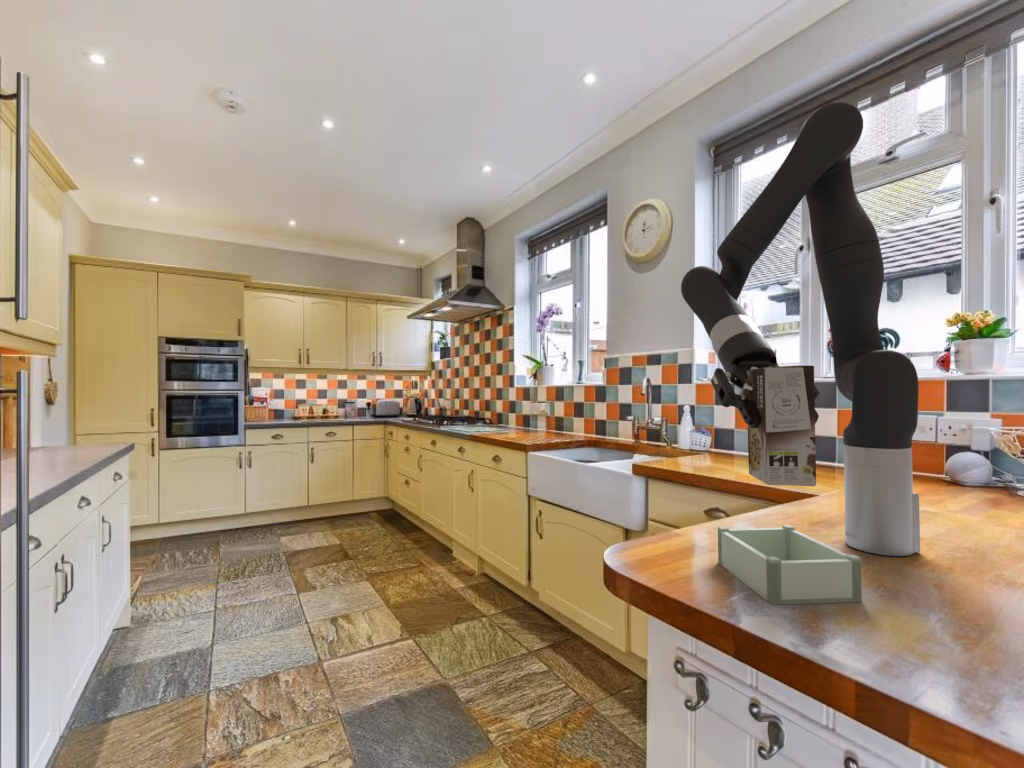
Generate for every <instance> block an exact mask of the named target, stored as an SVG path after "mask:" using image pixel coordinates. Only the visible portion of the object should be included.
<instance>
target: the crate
mask: <svg viewBox="0 0 1024 768" xmlns="http://www.w3.org/2000/svg"><path fill="white" fill-rule="evenodd" d="M795 529H796V528H795V526H793V525H791V524H785V525H784V524H783V525H782V526H781V527H768V528H767V527H766V528H765V527H763V528H762V527H761V528H728V527H726V526H717V559H718V560H717V562H718V564H719V565H721V566H722V567H723V568H724V569H726V570H727V571H729V573H731V574H732V575H734V576H735V577H736V578H737V579H739V580H740V581H741V582H743V583H744V584H745V585H746V586H747V587H749V588H750V589H751V590H753V591H754V592H756V593H757V594H758V595H759V596H761V597H762V598H763V599H764V600H766V601H767V602H768V603H769V604H771V605H773V606H774V605H775V606H776V605H801V604H802V605H804V604H806V605H808V604H810V605H811V604H835V603H836V604H837V603H839V604H840V603H862V600H863V598H862V597H863V595H862V594H863V593H862V557H860V556H858V555H856V554H847V553H845V552H843V551H841V550H838V549H836V548H835V547H833V546H830V545H827V544H826V543H825V542H824V543H823V542H822V541H820V540H817V539H815V538H813V537H811V536H809V535H807V534H804V533H803V532H800V531H798V530H795Z"/></svg>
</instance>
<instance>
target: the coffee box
mask: <svg viewBox="0 0 1024 768" xmlns="http://www.w3.org/2000/svg"><path fill="white" fill-rule="evenodd" d="M746 372H747V376H748V374H749V377H750V380H751V381H750V382H751V384H752V391H751V394H750V397H749V399H748V400H752V401H753V403H754V405H755V407H756V409H757V410H758V412H759V414H760V416H761V423H760V424H759V426H758V428H751V427H750V426H749V425H747V452H748V453H747V454H748V474H749V475H750V476H752V477H754V478H755V479H758V480H759V481H760V482H762V483H764V484H765V485H767V486H798V487H816V486H817V459H816V458H817V456H816V454H817V453H816V452H817V449H816V423H815V410H816V409H815V408H816V407H815V405H816V402H815V400H816V399H815V395H814V385H815V365H805V364H804V365H785V366H780V367H764V368H758V369H751V370H746Z"/></svg>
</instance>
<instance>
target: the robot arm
mask: <svg viewBox="0 0 1024 768" xmlns="http://www.w3.org/2000/svg"><path fill="white" fill-rule="evenodd" d="M863 130H864V118H863V115H862V113H861V111H860V110H859V108H858V107H856V106H855V105H854V104H852V103H849V102H845V101H835V102H832V103H831V102H830V103H828V104H825V105H823V106H821V107H820V108H818V109H816V110H814V112H813V113H811V114H810V115H809V116H808V118H807V119H806V120H805V121H804V122H803V124H802V126H801V128H800V130H799V131H798V135H797V136H796V140H795V142H794V144H793V146H792V147H791V149H790V151H789V152H788V154H787V156H786V157H785V158H784V160H783V162H782V164H781V165H780V167H779V168H777V171H776V172H775V174H774V175H773V177H772V178H771V179H770V181H769V182H768V184H767V185H766V186H765V188H763V190H762V191H761V193H760V194H759V195H757V197H756V199H755V200H754V201H753V202H752V204H751V205H750V206H749V208H747V210H746V211H745V212H744V213H743V215H742V216H741V217H740V218H739V220H738V221H737V222H736V224H735V225H734V226H733V227H732V229H731V230H730V231H729V233H728V234H727V235H726V237H725V238H724V239H723V240H722V242H721V244H720V245H719V246H718V248H717V251H716V253H717V257H718V259H719V261H720V263H721V269H720V272H718V271H716V270H715V269H714V268H712V267H710V266H706V265H699V266H696V267H693V268H691V269H689V271H687V272H686V274H685V275H683V278H682V281H681V283H680V292H681V295H682V298H683V299H684V301H685V302H686V304H687V305H688V307H689V308H690V309H691V310H692V312H693V314H694V315H696V317H697V318H698V319H699V321H700V322H701V323H702V325H703V327H704V330H705V332H706V334H707V336H708V338H709V339H710V342H711V345H712V347H713V350H714V353H715V355H716V357H717V358H718V361H719V362H720V364H721V367H722V368H720V367H717V368H715V370H714V372H713V375H712V377H711V380H710V382H711V385H712V387H713V389H714V391H715V393H716V396H717V398H718V399H719V401H720V404H721V406H723V407H724V408H730V407H734V409H736V410H738V412H739V413H740V415H741V417H742V419H743V421H744V423H745V424H747V425H749V426H750V427H751V428H758V426H759V424H760V423H761V416H760V414H759V412H758V410H757V409H756V407H755V405H754V403H753V401H752V400H748V399H749V397H750V394H751V391H752V384H751V382H750V381H751V380H750V377H749V374H748V376H747V372H746V370H751V369H758V368H764V367H781V366H779V364H778V360H777V356H776V353H775V351H774V349H772V347H771V345H770V344H769V343H768V341H767V339H766V338H765V336H764V335H763V333H762V331H761V330H760V329H759V327H758V326H757V324H756V323H755V322H754V321H752V319H751V318H750V317H749V314H748V313H747V311H746V310H745V309H744V308H743V306H742V305H741V304H740V303H739V302H738V299H739V297H740V295H741V294H742V290H743V288H744V287H745V284H746V282H747V279H748V277H749V275H750V273H751V271H752V268H753V267H754V265H755V264H756V263H757V261H758V260H759V259H760V258H761V256H762V255H763V254H764V252H765V251H766V250H767V249H768V248H769V246H770V245H771V243H772V242H773V241H774V240H775V238H776V237H777V236H778V234H779V233H780V232H781V230H782V228H783V227H784V225H785V224H786V223H787V221H788V220H789V218H790V217H791V215H792V214H793V212H794V211H795V209H796V208H797V206H798V205H799V204H800V202H801V201H802V200H803V198H804V197H805V200H806V202H807V207H808V208H807V209H808V213H809V215H808V216H809V222H810V223H809V224H810V231H811V232H810V233H811V238H812V245H813V252H814V259H815V264H816V269H817V275H818V279H819V283H820V286H821V291H822V296H823V301H824V306H825V310H826V315H827V318H828V323H829V327H830V333H831V334H830V335H831V342H832V343H831V345H832V354H833V355H832V358H833V370H834V371H833V375H834V381H835V385H836V387H837V390H838V391H839V392H840V393H841V395H842V396H843V397H844V398H845V399H847V400H848V401H850V402H851V403H852V405H851V406H852V407H851V418H850V421H849V423H848V425H846V426H845V427H844V428H843V432H842V439H843V440H842V441H843V442H842V443H843V480H844V481H843V482H844V483H843V487H844V488H843V489H844V531H845V532H844V536H845V537H844V539H845V540H844V541H845V544H846V545H847V546H849V547H851V548H853V549H856V550H858V551H862V552H865V553H870V554H875V555H882V556H891V557H907V556H908V557H909V556H912V555H914V554H915V553H921V529H920V528H921V527H920V526H921V522H920V519H921V518H920V495H919V494H918V493H917V492H914V482H913V481H914V480H913V477H914V475H913V442H912V440H913V436H914V435H915V432H916V431H917V428H918V420H919V417H918V416H919V377H918V372H917V369H916V367H915V364H914V363H913V361H912V360H911V359H910V358H908V357H907V355H904V353H901V352H899V351H896V350H891V349H885V348H884V346H883V342H882V338H881V333H880V329H879V308H880V303H881V297H882V292H883V286H884V279H885V267H884V266H885V265H884V258H883V255H882V254H883V253H882V249H881V245H880V240H879V236H878V233H877V230H876V227H875V225H874V223H873V221H872V220H871V218H870V216H869V214H868V213H867V212H866V210H865V208H864V206H863V205H862V204H861V202H860V201H859V198H858V196H857V194H856V191H855V185H854V181H853V173H852V163H851V162H852V161H851V158H852V157H851V155H852V152H853V151H854V149H855V148H856V146H857V145H858V143H859V142H860V139H861V137H862V134H863ZM732 385H733V386H735V387H737V388H739V389H740V391H739V393H738V394H737V393H736V392H735V390H734V388H733V386H732ZM814 395H815V400H817V398H818V396H819V395H820V391H819V389H818V387H816V385H815V384H814ZM819 417H820V416H819V413H818V411H817V410H816V409H815V424H817V423H818V420H819Z"/></svg>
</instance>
